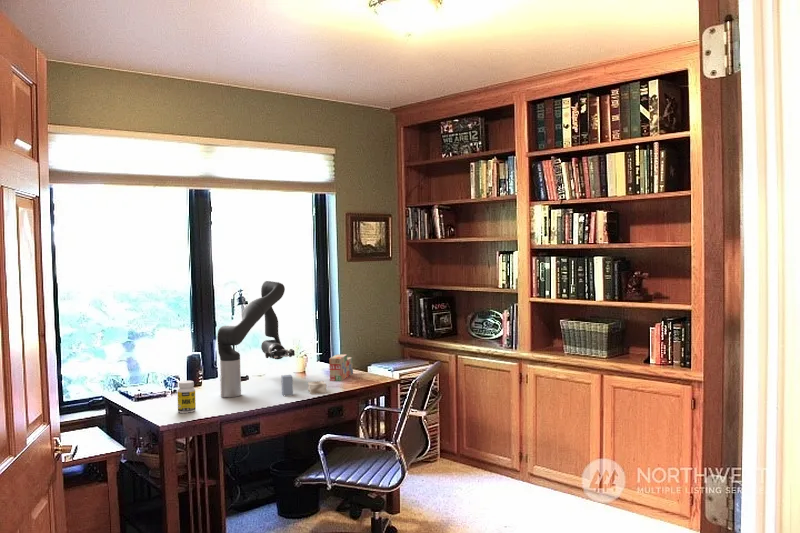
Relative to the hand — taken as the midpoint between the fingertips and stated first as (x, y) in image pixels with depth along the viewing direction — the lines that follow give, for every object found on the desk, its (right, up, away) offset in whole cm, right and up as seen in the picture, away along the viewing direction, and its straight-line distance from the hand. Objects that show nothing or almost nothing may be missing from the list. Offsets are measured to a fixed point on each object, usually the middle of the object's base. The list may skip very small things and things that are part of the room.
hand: (282, 355), depth 321 cm
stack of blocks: (+27, -16, +30) cm, 43 cm away
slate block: (+4, -17, -11) cm, 21 cm away
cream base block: (+18, -17, -6) cm, 25 cm away
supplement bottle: (-34, -19, -40) cm, 56 cm away
